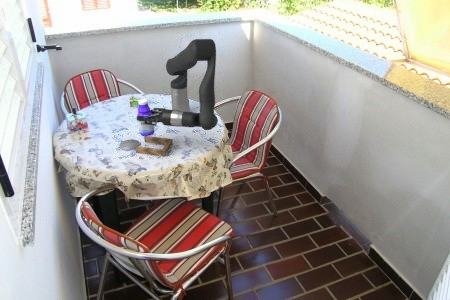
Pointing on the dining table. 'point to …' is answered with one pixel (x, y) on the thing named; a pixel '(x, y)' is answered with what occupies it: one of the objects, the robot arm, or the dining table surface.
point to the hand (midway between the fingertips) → (140, 114)
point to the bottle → (145, 111)
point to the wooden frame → (155, 151)
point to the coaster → (129, 144)
